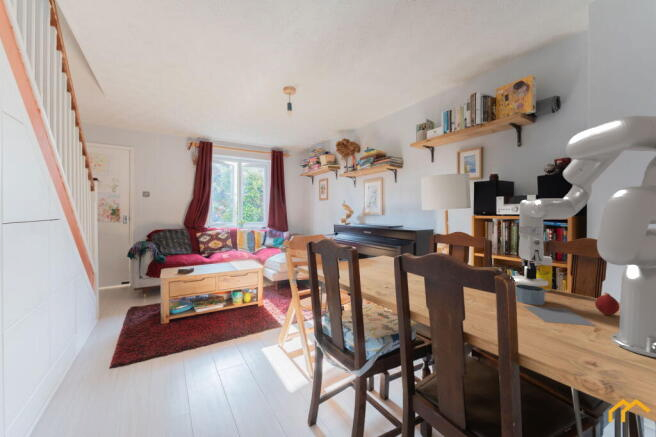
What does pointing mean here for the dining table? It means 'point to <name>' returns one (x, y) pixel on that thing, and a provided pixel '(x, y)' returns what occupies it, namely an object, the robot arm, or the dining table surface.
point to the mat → (558, 315)
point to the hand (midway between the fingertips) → (528, 277)
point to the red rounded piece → (607, 304)
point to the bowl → (530, 294)
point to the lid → (529, 280)
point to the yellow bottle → (545, 272)
